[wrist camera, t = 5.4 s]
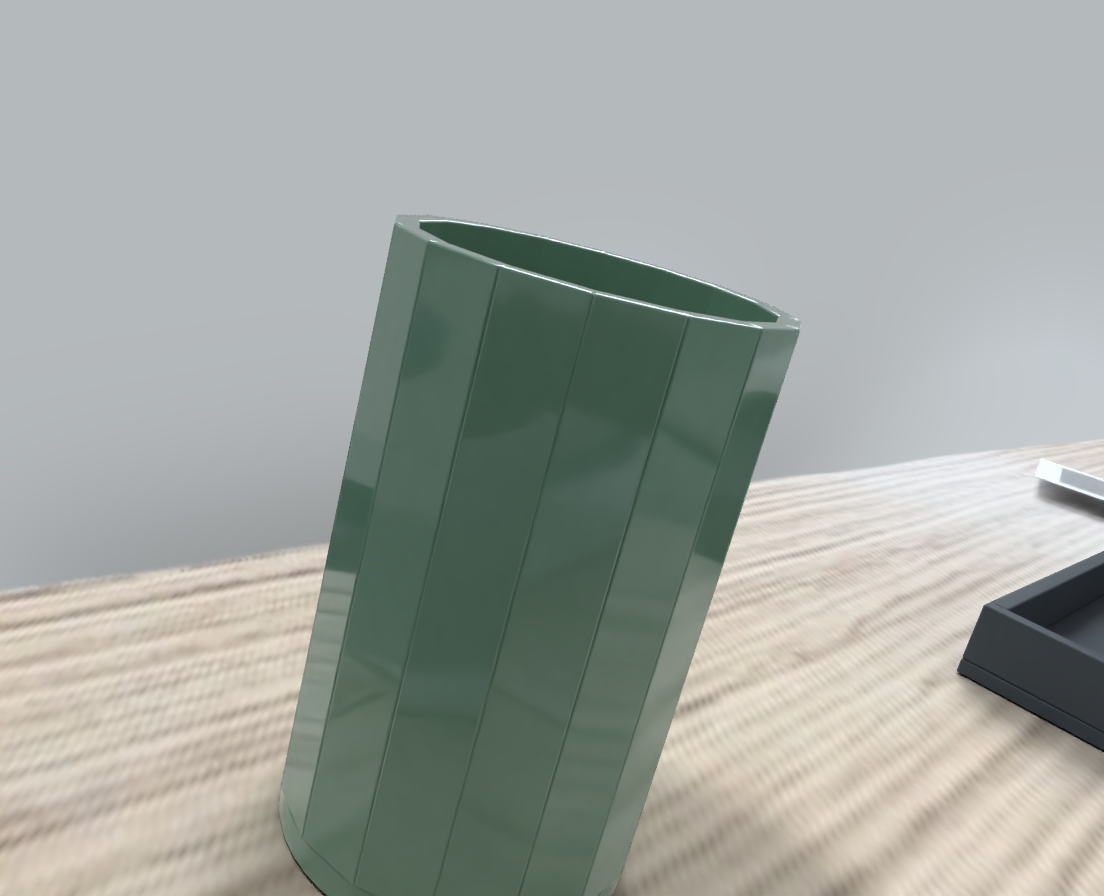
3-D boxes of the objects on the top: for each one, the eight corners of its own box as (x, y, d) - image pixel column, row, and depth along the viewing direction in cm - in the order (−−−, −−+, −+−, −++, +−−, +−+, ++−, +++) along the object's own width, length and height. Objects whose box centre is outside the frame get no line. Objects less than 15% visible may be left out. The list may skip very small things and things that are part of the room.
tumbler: (249, 931, 16) (388, 244, 12) (301, 694, 22) (400, 200, 19) (655, 972, 17) (872, 359, 14) (592, 736, 23) (730, 281, 20)
